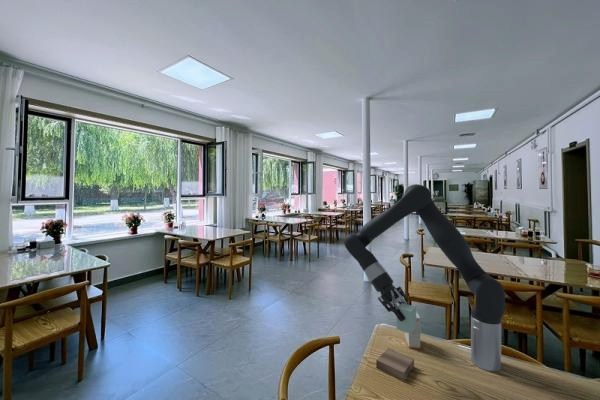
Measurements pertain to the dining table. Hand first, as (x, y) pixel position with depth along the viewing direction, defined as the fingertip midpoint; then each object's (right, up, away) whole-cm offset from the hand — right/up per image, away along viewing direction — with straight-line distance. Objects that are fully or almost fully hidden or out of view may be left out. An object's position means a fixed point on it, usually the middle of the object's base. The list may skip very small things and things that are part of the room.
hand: (407, 317), depth 92 cm
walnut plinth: (-3, -20, +2) cm, 20 cm away
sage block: (0, -4, 0) cm, 4 cm away
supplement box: (+10, -19, +18) cm, 28 cm away
